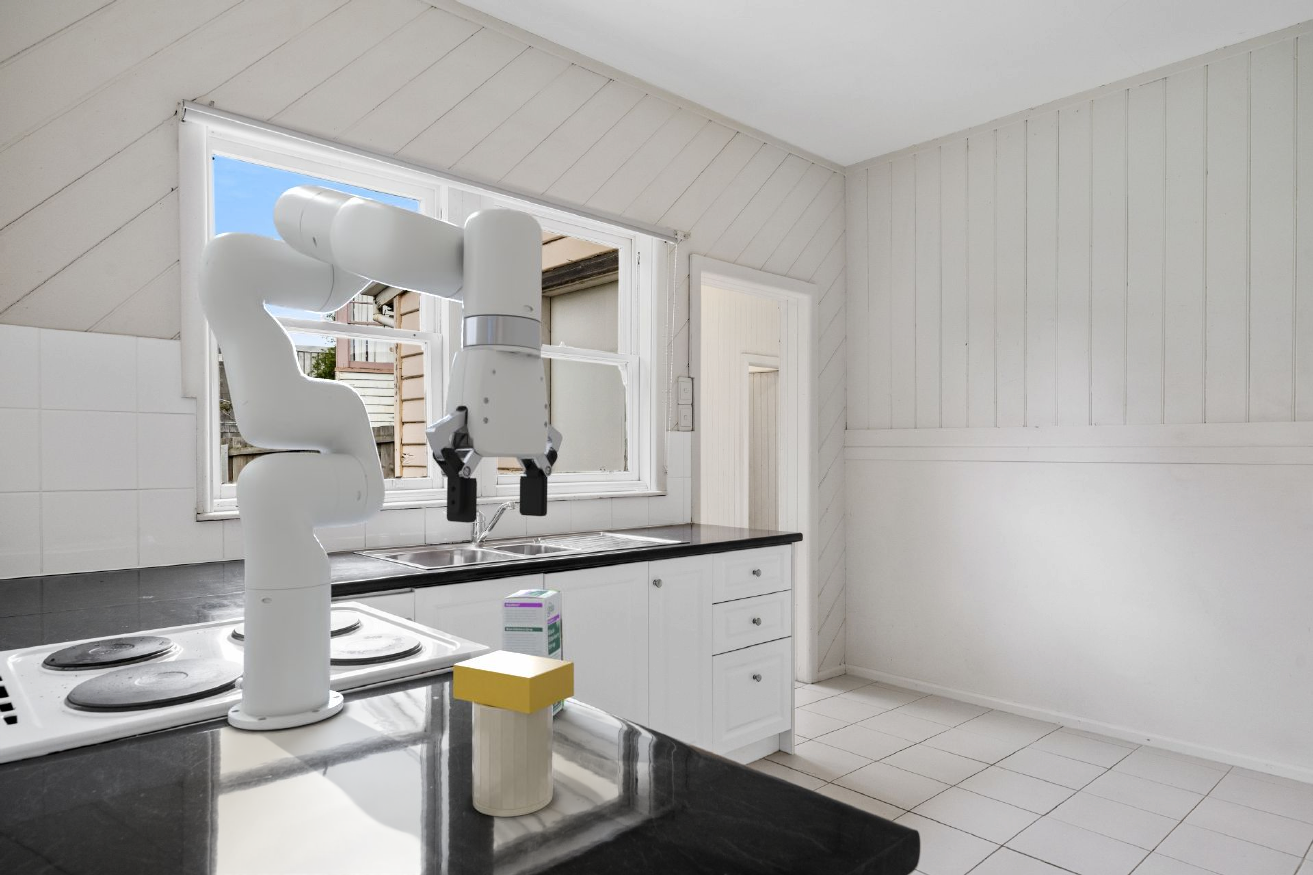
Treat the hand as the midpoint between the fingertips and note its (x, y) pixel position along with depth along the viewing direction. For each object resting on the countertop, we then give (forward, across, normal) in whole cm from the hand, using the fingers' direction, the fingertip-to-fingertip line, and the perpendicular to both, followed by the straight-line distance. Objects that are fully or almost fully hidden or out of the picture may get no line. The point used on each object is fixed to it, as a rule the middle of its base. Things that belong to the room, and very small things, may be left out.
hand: (499, 518), depth 73 cm
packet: (+16, +3, +5) cm, 16 cm away
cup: (+25, +3, +5) cm, 25 cm away
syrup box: (+25, -16, -10) cm, 31 cm away
